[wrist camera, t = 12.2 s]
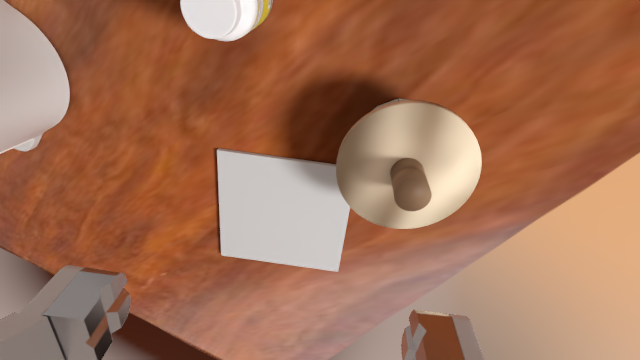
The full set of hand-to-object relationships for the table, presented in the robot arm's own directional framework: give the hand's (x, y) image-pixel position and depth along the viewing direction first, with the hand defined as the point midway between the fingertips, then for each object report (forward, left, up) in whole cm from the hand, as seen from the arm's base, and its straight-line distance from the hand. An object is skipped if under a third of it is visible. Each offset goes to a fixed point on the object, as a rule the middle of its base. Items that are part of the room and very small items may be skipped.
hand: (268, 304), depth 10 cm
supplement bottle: (-8, +5, -30) cm, 32 cm away
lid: (+8, -7, -24) cm, 26 cm away
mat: (-3, -19, -30) cm, 36 cm away
